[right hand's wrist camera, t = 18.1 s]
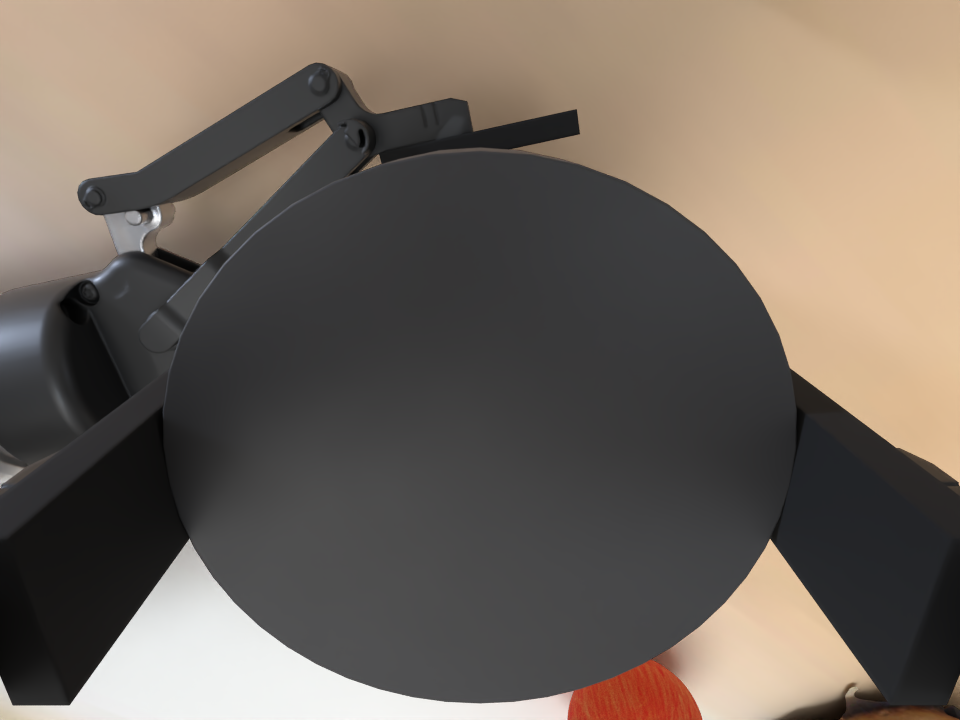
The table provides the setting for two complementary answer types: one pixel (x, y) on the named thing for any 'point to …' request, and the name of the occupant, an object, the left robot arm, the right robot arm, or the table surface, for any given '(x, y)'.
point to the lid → (479, 426)
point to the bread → (894, 710)
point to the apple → (636, 697)
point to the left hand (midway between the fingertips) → (592, 272)
